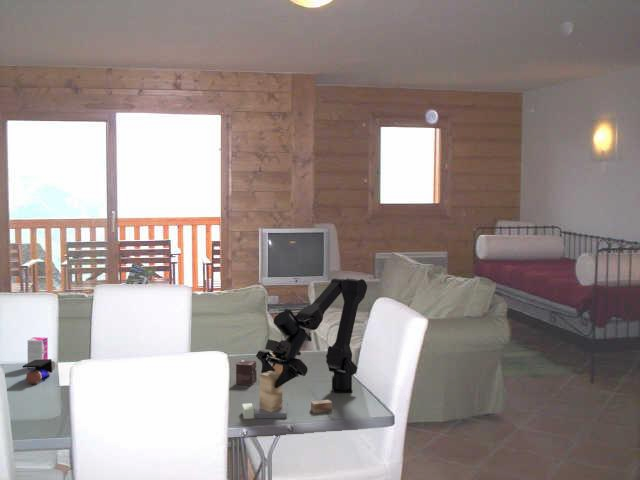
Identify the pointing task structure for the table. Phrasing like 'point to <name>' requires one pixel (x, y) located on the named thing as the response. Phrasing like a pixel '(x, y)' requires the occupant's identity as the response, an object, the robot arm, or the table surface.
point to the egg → (277, 367)
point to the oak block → (270, 391)
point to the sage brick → (248, 411)
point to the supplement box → (37, 349)
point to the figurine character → (39, 370)
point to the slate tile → (267, 414)
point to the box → (246, 372)
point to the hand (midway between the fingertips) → (267, 385)
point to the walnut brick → (321, 406)
